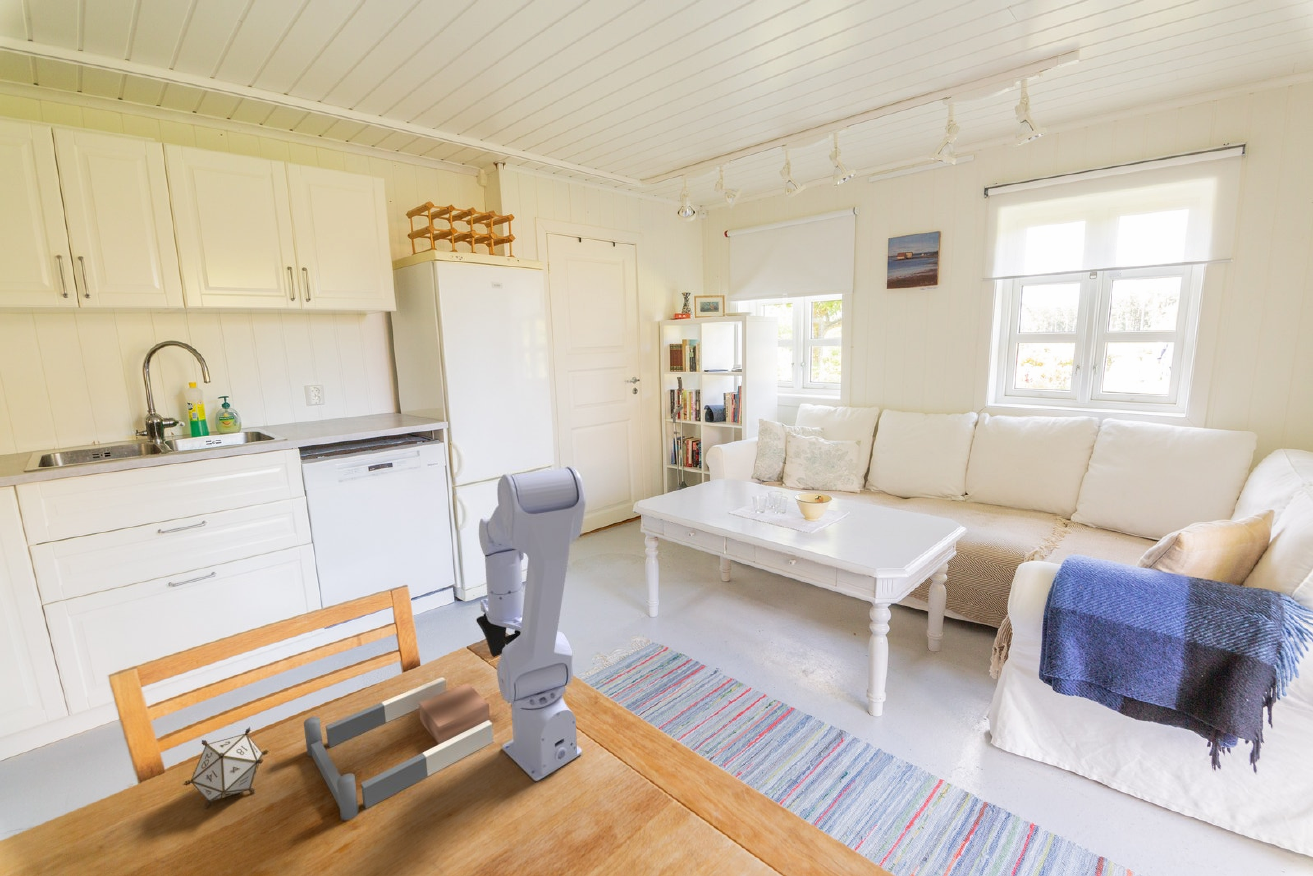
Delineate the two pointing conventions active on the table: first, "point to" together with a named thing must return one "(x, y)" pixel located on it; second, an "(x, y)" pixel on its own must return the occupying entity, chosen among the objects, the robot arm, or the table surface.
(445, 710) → the sliding block
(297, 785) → the table surface
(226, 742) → the game die
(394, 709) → the lane walls
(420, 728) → the table surface
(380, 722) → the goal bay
